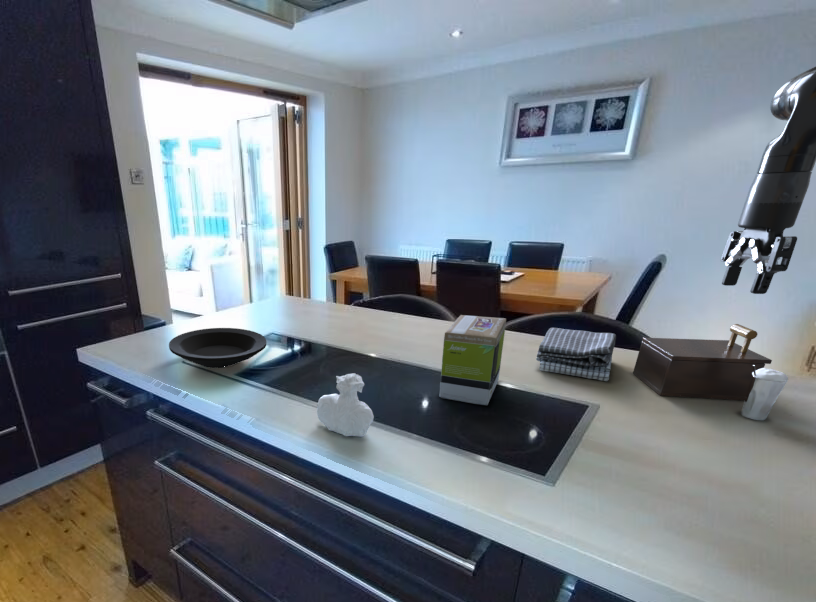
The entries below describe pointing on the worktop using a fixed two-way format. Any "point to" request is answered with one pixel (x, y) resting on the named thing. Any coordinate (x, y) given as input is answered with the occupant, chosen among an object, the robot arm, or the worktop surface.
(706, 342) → the lid
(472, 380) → the tea box
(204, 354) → the plate
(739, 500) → the worktop surface
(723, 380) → the chest
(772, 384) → the milkshake
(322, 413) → the bust
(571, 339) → the towel
